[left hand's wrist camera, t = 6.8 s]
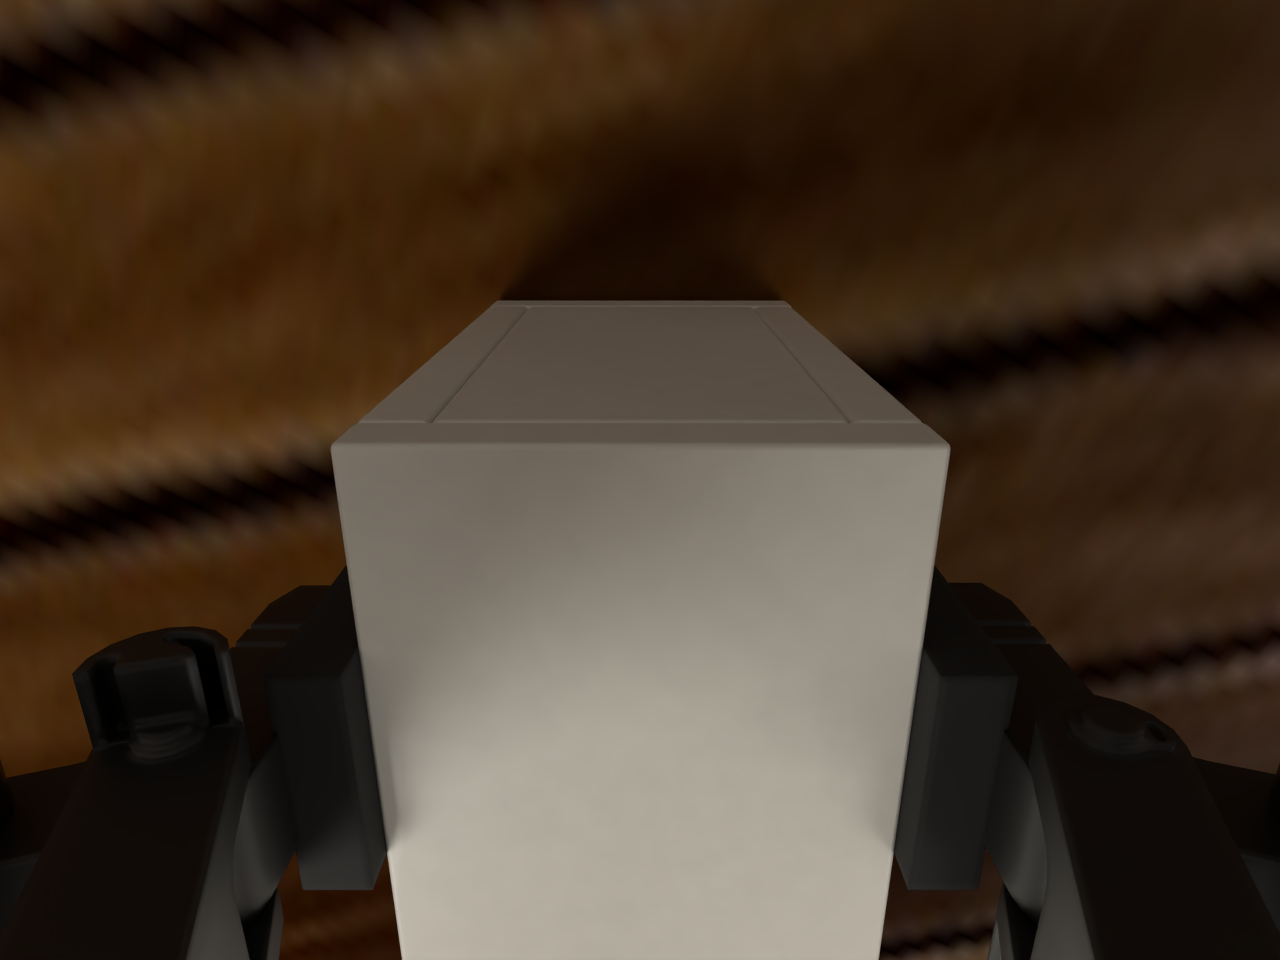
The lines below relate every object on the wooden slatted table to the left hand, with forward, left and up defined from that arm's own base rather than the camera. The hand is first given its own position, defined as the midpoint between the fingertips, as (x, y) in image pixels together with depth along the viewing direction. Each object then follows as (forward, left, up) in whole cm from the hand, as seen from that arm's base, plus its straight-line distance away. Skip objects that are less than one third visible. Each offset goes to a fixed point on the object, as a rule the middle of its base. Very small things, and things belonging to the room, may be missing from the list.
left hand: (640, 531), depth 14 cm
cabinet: (+2, +7, -3) cm, 8 cm away
